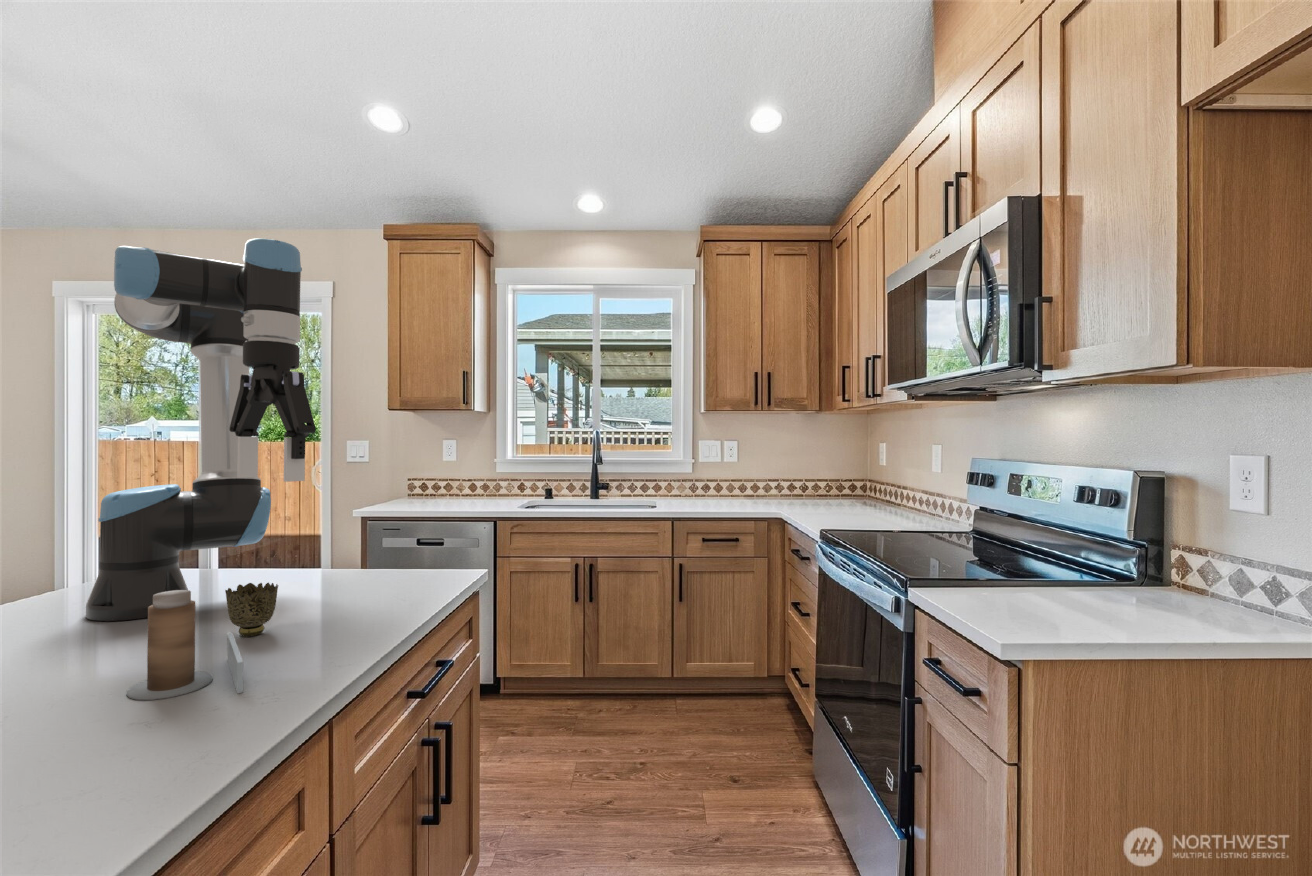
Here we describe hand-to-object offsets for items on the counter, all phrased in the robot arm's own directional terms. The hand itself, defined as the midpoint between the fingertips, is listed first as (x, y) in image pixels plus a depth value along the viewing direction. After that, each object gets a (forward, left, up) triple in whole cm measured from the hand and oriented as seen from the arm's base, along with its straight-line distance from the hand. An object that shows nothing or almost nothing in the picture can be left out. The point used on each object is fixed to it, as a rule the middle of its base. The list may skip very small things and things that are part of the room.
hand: (270, 479), depth 97 cm
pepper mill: (+8, -12, -26) cm, 30 cm away
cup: (-11, -1, -27) cm, 29 cm away
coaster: (+8, -12, -27) cm, 30 cm away
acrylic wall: (+8, -5, -27) cm, 28 cm away
